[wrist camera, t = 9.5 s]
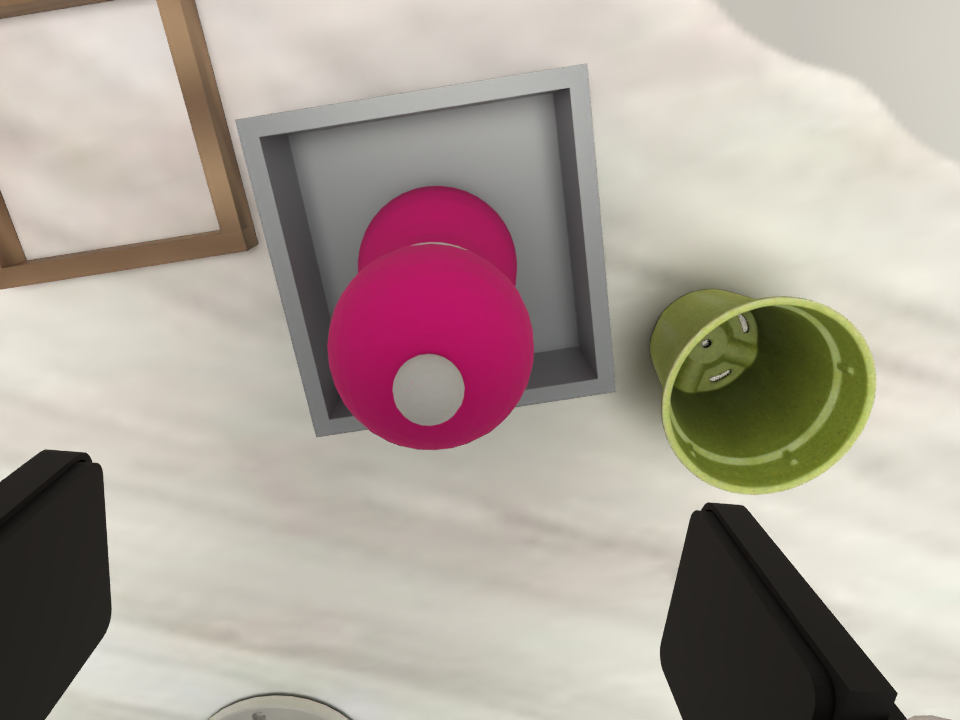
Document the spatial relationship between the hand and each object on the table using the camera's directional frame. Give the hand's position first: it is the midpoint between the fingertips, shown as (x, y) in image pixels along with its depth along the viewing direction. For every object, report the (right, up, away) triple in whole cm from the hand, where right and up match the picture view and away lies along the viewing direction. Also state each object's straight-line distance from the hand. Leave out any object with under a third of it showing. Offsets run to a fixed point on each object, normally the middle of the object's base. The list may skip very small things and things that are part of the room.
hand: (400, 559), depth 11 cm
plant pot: (+14, +4, +27) cm, 31 cm away
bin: (-1, +9, +25) cm, 26 cm away
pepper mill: (-1, +9, +24) cm, 26 cm away
